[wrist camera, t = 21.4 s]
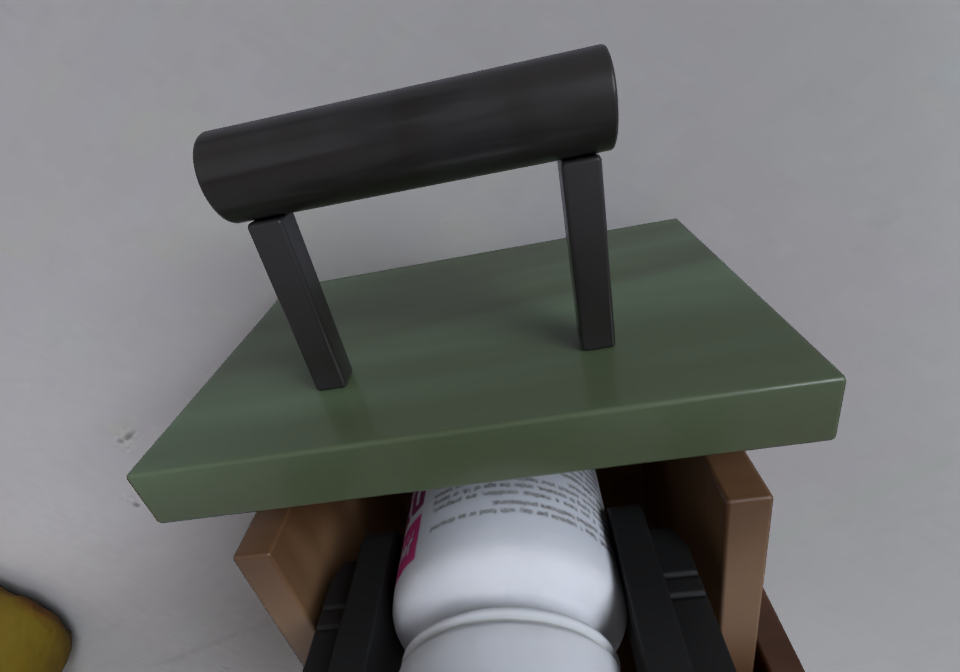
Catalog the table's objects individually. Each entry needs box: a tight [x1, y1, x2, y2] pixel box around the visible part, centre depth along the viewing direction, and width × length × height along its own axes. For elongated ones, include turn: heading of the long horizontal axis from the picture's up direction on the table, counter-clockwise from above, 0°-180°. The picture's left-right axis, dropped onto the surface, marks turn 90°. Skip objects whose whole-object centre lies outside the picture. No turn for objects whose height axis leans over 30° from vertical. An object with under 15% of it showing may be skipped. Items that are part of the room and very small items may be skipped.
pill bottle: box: [392, 469, 627, 672], centre depth 12 cm, size 5×5×8 cm
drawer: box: [127, 44, 846, 672], centre depth 13 cm, size 18×11×8 cm, turn 11°
